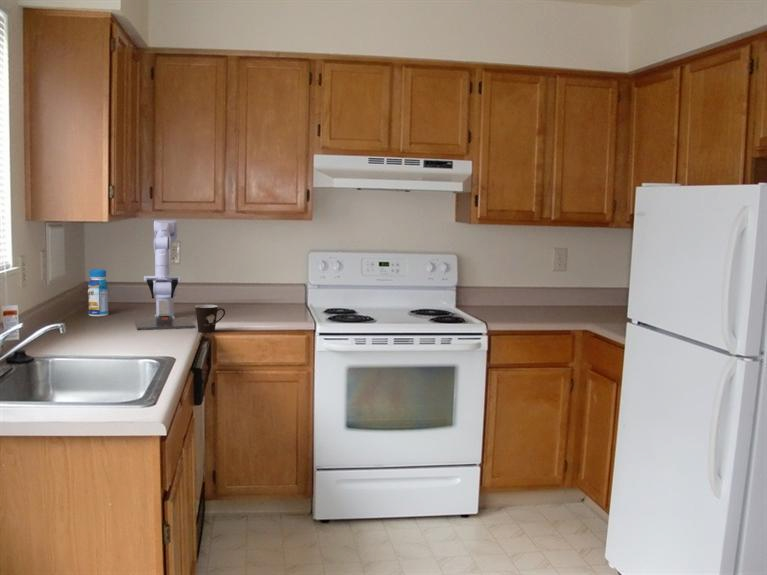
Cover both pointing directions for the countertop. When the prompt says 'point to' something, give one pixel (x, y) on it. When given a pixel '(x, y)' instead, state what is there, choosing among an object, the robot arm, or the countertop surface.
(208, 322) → the coffee mug
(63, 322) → the countertop surface
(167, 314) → the silver metallic block
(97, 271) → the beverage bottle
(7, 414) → the countertop surface
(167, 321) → the stand
